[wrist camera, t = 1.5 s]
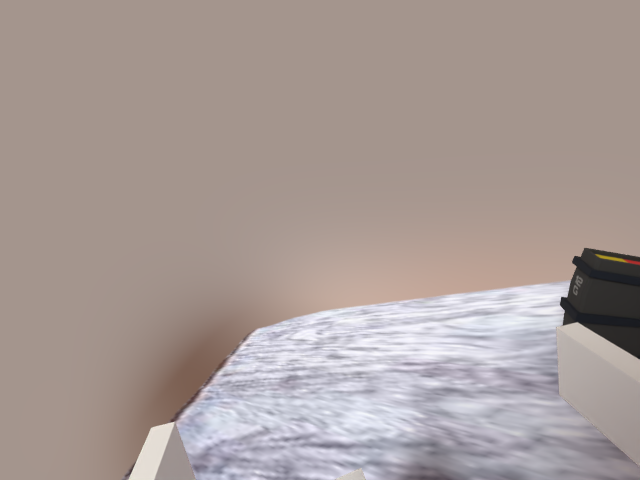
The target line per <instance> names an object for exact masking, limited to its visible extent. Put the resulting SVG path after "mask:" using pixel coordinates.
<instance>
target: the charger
mask: <svg viewBox="0 0 640 480" xmlns="http://www.w3.org/2000/svg"><path fill="white" fill-rule="evenodd" d="M335 480H366V479H365V477H364V474H363V471H362V469H361V468H359V469H357V470H355V471H353V472H351V473H348V474H346V475H344V476H342V477H339V478H337V479H335Z"/></svg>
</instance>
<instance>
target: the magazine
mask: <svg viewBox="0 0 640 480" xmlns="http://www.w3.org/2000/svg"><path fill="white" fill-rule="evenodd" d="M572 263H573V264H575V265H576V266H577V268H576V270H575V272H574V275H573V278H572V280H571V283H570V288H569V292H568V297H567V298H566V297H561V302H560V306H561V307H562V308H563V309H564V310H565V313H564V320H563V326H564V325H568V324H572V323H576V322H578V323H579V324H581V325H583V326H584V327H586V328H588V329H589V330H591V331H593V332H594V333H596V334H598V335H599V336H601V337H603V338H604V339H606V340H608V341H609V342H611V343H613V344H614V345H616V346H618V347H619V348H621V349H623V350H624V351H626V352H628V353H629V354H631V355H633V356H634V357H636V358H638V359H639V360H640V257H636V256H630V255H624V254H618V253H613V252H606V251H600V250H595V249H589V248H584V251H583V253H582V256H581V257H578V256H575V257H574V259H573V261H572Z"/></svg>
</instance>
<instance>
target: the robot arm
mask: <svg viewBox="0 0 640 480" xmlns="http://www.w3.org/2000/svg"><path fill="white" fill-rule="evenodd" d="M556 332H557V354H558V376H559V395H560V396H561V397H562V398H563V399H564V400H565V401H566V402H568V403H569V404H570V405H571V406H572V407H573V408H574V409H575V410H577V411H578V412H579V413H580V414H581V415H582V416H583V417H584V418H586V419H587V420H588V421H589V422H590V423H591V424H592V425H593V426H594V427H596V428H597V429H598V430H599V431H600V432H601V433H602V434H603V435H605V436H606V437H607V438H608V439H609V440H610V441H611V442H612V443H613V444H615V445H616V446H617V447H618V448H619V449H620V450H621V451H622V452H624V453H625V454H626V455H627V456H628V457H629V458H630V459H631V460H632V461H634V462H635V463H636V464H637V465H638V466H639V467H640V360H639V359H638V358H636V357H634V356H633V355H631V354H629V353H628V352H626V351H624V350H623V349H621V348H619V347H618V346H616V345H614V344H613V343H611V342H609V341H608V340H606V339H604V338H603V337H601V336H599V335H598V334H596V333H594V332H593V331H591V330H589V329H588V328H586V327H584V326H583V325H581V324H579V323H578V322H576V323H572V324H568V325H564V326H560V327H556ZM129 480H196V478H195V476H194V473H193V470H192V467H191V464H190V462H189V459H188V456H187V453H186V451H185V448H184V445H183V442H182V440H181V437H180V434H179V431H178V429H177V426H176V423H175V422H172V423H168V424H164V425H161V426H157V427H152V428H151V430H150V432H149V435H148V437H147V439H146V441H145V444H144V446H143V448H142V451H141V453H140V455H139V457H138V460H137V462H136V464H135V467H134V469H133V471H132V473H131V476H130V478H129Z"/></svg>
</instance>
